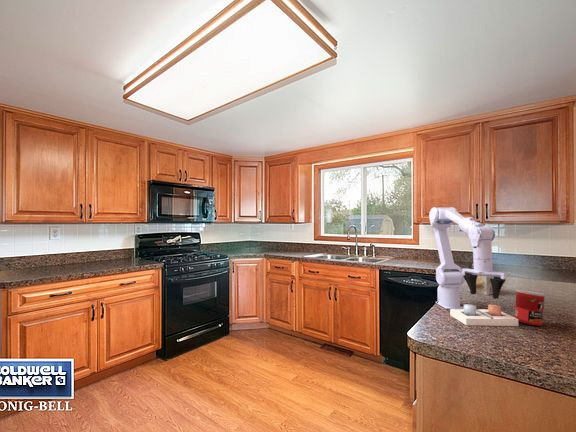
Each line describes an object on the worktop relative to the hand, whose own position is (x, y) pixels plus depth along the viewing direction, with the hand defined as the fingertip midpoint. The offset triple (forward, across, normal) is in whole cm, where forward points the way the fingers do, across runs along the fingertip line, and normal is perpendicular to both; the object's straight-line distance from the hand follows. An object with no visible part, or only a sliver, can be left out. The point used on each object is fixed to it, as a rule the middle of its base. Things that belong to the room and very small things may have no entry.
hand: (484, 296), depth 103 cm
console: (+10, -2, +3) cm, 10 cm away
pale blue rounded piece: (+8, -5, -1) cm, 9 cm away
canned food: (+10, +7, +14) cm, 18 cm away
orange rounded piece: (+8, 0, +7) cm, 10 cm away
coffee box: (+9, -27, +45) cm, 53 cm away
